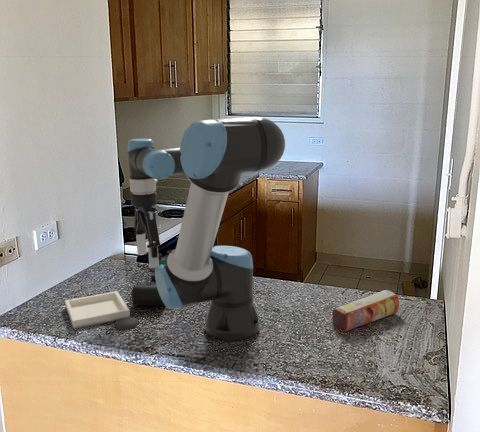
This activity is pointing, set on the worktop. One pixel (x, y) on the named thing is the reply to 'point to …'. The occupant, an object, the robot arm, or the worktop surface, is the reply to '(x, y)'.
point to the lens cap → (126, 323)
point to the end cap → (146, 295)
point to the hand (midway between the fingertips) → (147, 260)
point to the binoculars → (161, 261)
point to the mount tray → (96, 309)
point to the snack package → (365, 310)
